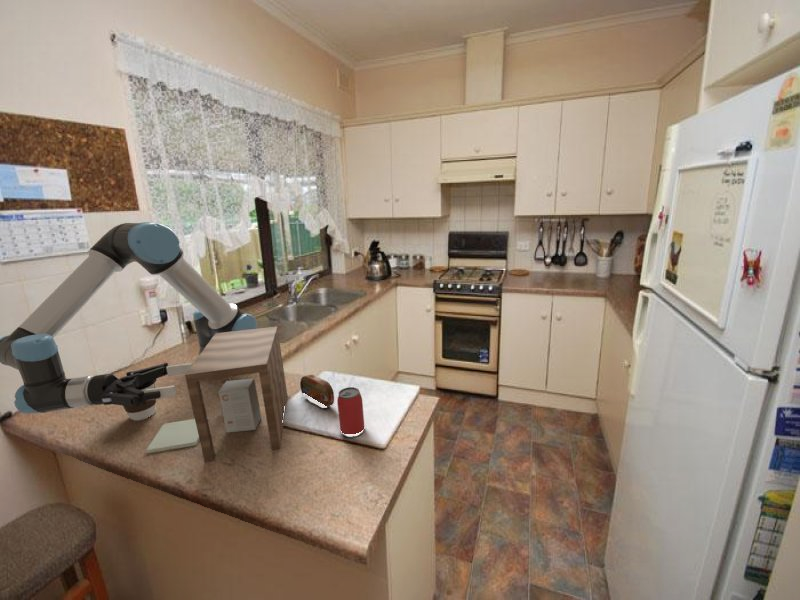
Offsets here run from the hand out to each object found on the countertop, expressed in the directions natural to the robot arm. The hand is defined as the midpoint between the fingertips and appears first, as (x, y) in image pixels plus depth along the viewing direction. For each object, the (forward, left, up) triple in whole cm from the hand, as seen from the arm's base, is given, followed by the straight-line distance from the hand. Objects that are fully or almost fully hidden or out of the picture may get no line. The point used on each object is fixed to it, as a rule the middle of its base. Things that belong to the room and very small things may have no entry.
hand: (185, 378), depth 99 cm
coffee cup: (-15, -19, -17) cm, 30 cm away
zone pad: (0, -4, -17) cm, 17 cm away
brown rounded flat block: (-6, +34, -17) cm, 38 cm away
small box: (0, +13, -17) cm, 21 cm away
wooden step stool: (0, +15, -17) cm, 22 cm away
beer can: (+12, +43, -17) cm, 47 cm away
